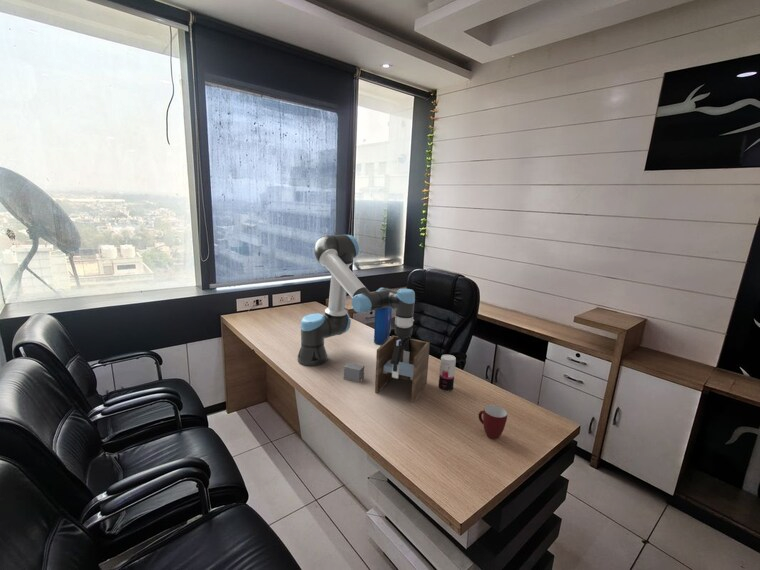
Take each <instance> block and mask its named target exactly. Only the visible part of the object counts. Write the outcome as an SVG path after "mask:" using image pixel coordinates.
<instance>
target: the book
mask: <svg viewBox="0 0 760 570" xmlns="http://www.w3.org/2000/svg"><path fill="white" fill-rule="evenodd" d="M392 310H393V308H390V307H385V308H381V309H376V310H374V334H373V337H374V338H373V343H375V344H377V345H383V344H384V343H385V342H386V341H387V340H388V339H389V336H390V334H391V333H392V332H391V329H392V314H393V313H392V312H393V311H392Z"/></svg>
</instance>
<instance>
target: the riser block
mask: <svg viewBox="0 0 760 570" xmlns="http://www.w3.org/2000/svg"><path fill="white" fill-rule="evenodd" d="M364 378H365V366H364V365H361V364H356V363H353V362H347V364H345V366H343V379H344V380H347V381H352V382H355V383H360V382H361V381H362V380H364Z"/></svg>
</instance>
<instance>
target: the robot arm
mask: <svg viewBox="0 0 760 570" xmlns="http://www.w3.org/2000/svg"><path fill="white" fill-rule="evenodd" d="M313 249H314V251H313V252H314V253H313V254H314V256H315V258H316V260H317V262H318V263H319V264H320V265H321V266H322V267H325V268H326V269H327V270H328V271H329V273H330V284H329V285H330V286H329V296H328V307H326V308H325V310H324V314H323V313H309V314H306V315H305V316H304V317H302V319H301V321H300V340H301V341H300V347H299V348H300V349H299V351H298V354H297V362H298V363H299V364H300V365H303V366H309V367H314V366H320V365H323V364H325V363H326V362H327V361H328V353H327V350H326V347H325V339H327V338H332V337H335V336H340V335H342V334H346V333H347V332H348V331H349V330H350V328H351V319H350V317H351V316H350V314H349V313H348V311H347V309H346V308H345V307H346V299H347V294H348V295H349V297H350V298H351V306H352V308H353V311H355V312H356V313H359V314H361V313H368V312H370V311H375V310H376V309H381V308H385V307H390V308H392V310H395V318H394V319H395V320H394V334H395V336H398V338H397V340H395V345H394V350H393V355H392V359H391V364H393V368H392V377H391V378H393V379H397V380H398V379H400V378H399V360H400V357H401V353H402V350H403V349H404V350H406V351H404V353H403V363H408V364H409V356H410V352H412V349H411V348H412V344H411V339H412V337H411V336H412V335H413V325H414V322H415V319H414V311H415V302H416V293H415V291H414V289H412V288H411V289H410V288H405V287H404V288H399V289H398V290H394V289H391V288H388V287H379V288H378V289H376V291H372V292H371V291H370V290H369V289H368V288H367V287H366V286H365V285H364V284H363V282H362V281H361V280H360V279H359V278H358V277H357V275H355V274H354V271H352V270H351V269H350V266H351V265H352V264H353V263H354V259H355V258H356V257H357V256H358V255H359V253H360V245H359V242H358V241H357V238H355V236H354V235H351V234H327V235H323V236H321V237H320V238H319V239H317V240H316V242H315V244H314V247H313ZM409 345H410V346H409ZM409 351H410V352H409Z"/></svg>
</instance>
